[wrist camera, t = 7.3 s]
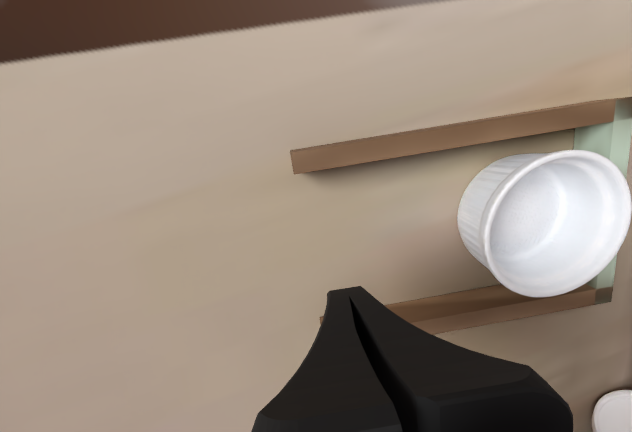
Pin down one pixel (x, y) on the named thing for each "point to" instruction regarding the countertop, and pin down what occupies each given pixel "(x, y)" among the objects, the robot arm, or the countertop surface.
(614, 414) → the spread jar
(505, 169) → the ramekin
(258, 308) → the countertop surface
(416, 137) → the channel
